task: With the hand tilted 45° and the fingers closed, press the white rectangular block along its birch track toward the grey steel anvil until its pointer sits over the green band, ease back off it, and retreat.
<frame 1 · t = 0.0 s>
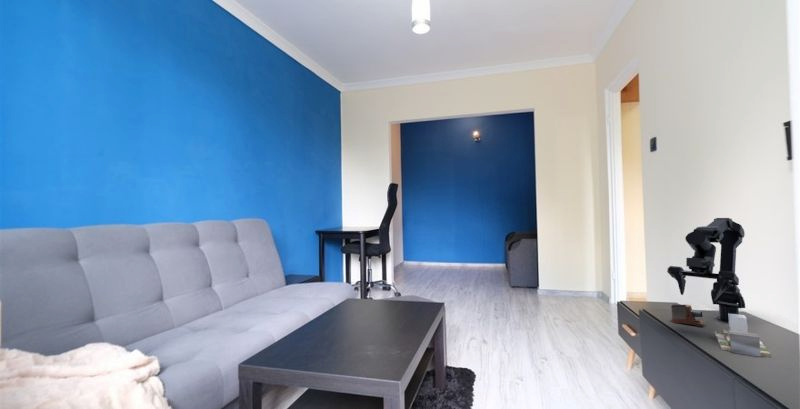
hand: (697, 296, 119), 15 cm above the tv stand, tool tilted 35°, fingers open, 9 cm apart
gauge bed: (739, 343, 113), on the tv stand
white rectangular block: (730, 326, 115), point 5 cm above the tv stand, slide at 0.0 cm
electronic device: (688, 324, 133), on the tv stand
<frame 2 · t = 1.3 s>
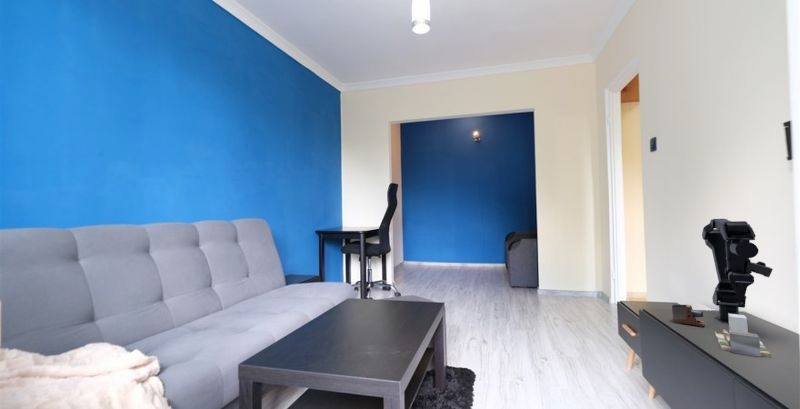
hand: (740, 297, 123), 13 cm above the tv stand, tool pointing down, fingers open, 9 cm apart
nothing on the tv stand moved.
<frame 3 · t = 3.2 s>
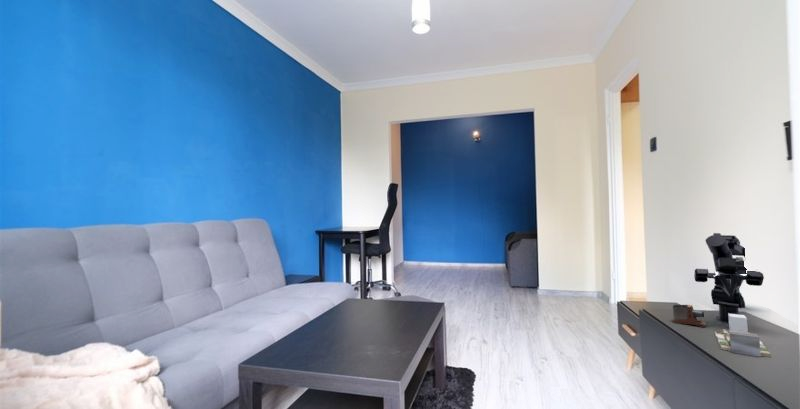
hand: (731, 296, 123), 13 cm above the tv stand, tool tilted 45°, fingers closed
nothing on the tv stand moved.
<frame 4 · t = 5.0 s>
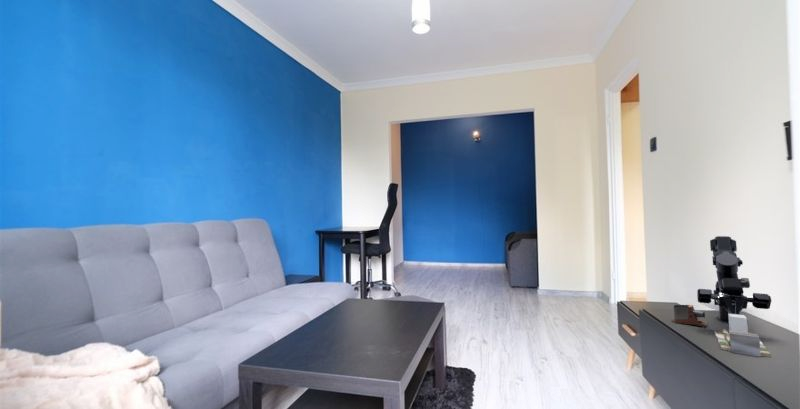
hand: (736, 319, 116), 7 cm above the tv stand, tool tilted 45°, fingers closed, pressing on white rectangular block
white rectangular block: (730, 326, 115), point 5 cm above the tv stand, slide at 0.0 cm, touching gripper
everything else where it was.
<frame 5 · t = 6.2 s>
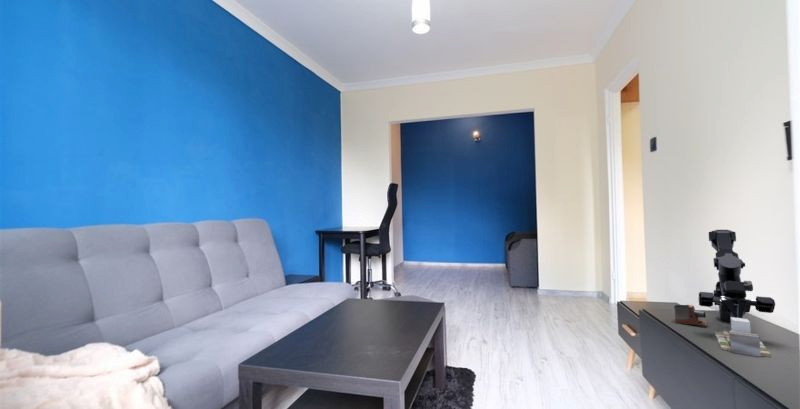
hand: (738, 323, 112), 7 cm above the tv stand, tool tilted 45°, fingers closed, pressing on white rectangular block
white rectangular block: (732, 330, 111), point 5 cm above the tv stand, slide at 4.6 cm, touching gripper
everything else where it was.
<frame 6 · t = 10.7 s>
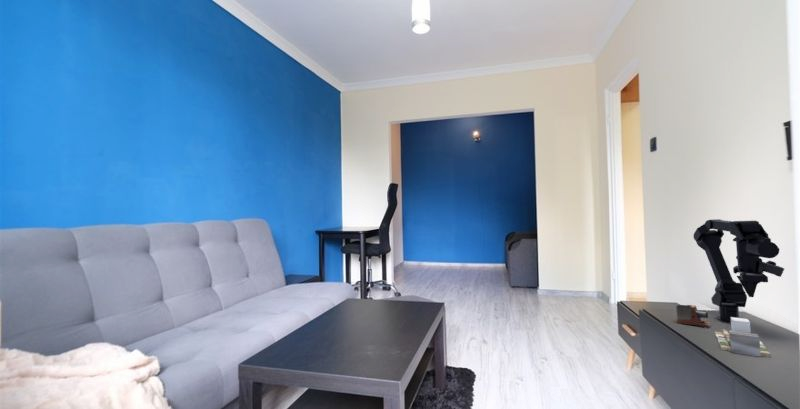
hand: (751, 296, 122), 13 cm above the tv stand, tool pointing down, fingers closed
white rectangular block: (732, 330, 111), point 5 cm above the tv stand, slide at 4.6 cm
at the end: white rectangular block slide at 4.6 cm; the gripper is holding nothing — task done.
